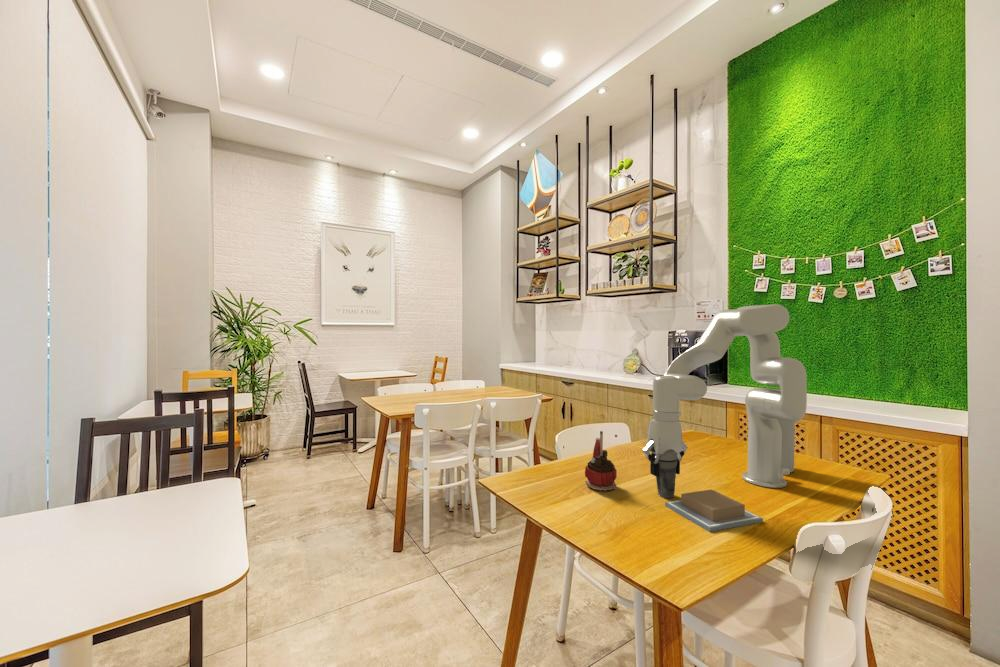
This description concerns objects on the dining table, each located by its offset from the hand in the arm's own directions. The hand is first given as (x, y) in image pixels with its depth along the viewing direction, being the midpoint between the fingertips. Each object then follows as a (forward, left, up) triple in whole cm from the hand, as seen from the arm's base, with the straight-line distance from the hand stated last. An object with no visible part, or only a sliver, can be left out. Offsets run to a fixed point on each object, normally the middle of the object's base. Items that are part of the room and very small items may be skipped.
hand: (665, 473), depth 124 cm
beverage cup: (0, 0, -7) cm, 7 cm away
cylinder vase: (-57, -9, -7) cm, 58 cm away
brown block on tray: (-4, +14, -7) cm, 16 cm away
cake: (+15, -12, -7) cm, 20 cm away
